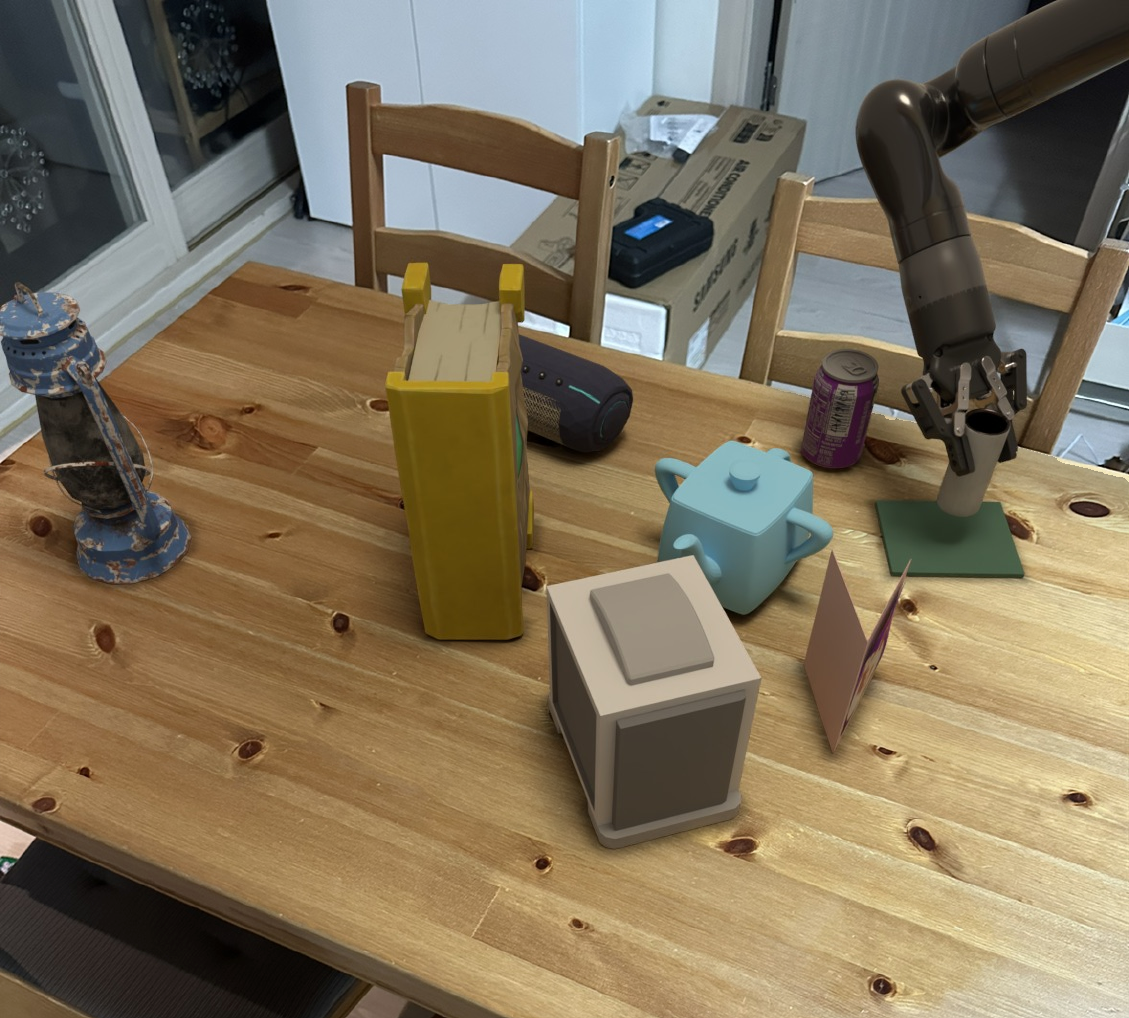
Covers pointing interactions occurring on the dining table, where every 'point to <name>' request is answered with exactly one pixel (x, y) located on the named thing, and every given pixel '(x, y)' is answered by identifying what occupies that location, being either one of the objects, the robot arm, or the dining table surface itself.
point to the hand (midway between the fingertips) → (986, 466)
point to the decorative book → (464, 456)
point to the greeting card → (843, 651)
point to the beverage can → (840, 408)
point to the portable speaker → (572, 397)
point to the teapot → (740, 520)
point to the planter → (975, 463)
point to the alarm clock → (650, 698)
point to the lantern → (89, 442)
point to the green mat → (947, 541)
